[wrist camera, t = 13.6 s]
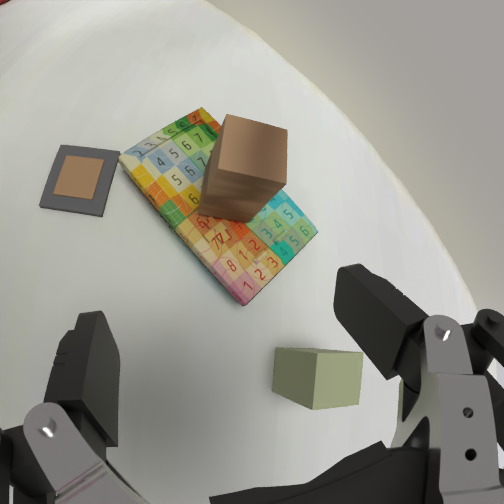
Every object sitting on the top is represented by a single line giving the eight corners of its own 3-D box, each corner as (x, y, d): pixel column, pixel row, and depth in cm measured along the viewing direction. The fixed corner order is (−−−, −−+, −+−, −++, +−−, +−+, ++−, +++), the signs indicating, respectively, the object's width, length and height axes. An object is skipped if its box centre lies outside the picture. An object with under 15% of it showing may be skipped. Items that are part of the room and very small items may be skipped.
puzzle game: (248, 304, 27) (117, 151, 27) (235, 307, 32) (120, 173, 31) (322, 229, 32) (203, 102, 31) (302, 240, 36) (196, 125, 35)
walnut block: (197, 214, 28) (218, 168, 20) (204, 168, 29) (226, 114, 21) (248, 223, 29) (286, 183, 21) (252, 178, 31) (287, 130, 22)
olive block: (272, 390, 30) (312, 410, 22) (275, 347, 32) (317, 353, 23) (311, 389, 32) (358, 404, 23) (315, 348, 33) (363, 352, 25)
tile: (40, 207, 27) (38, 204, 26) (61, 147, 29) (60, 143, 28) (102, 217, 29) (101, 214, 28) (120, 154, 31) (119, 150, 30)
